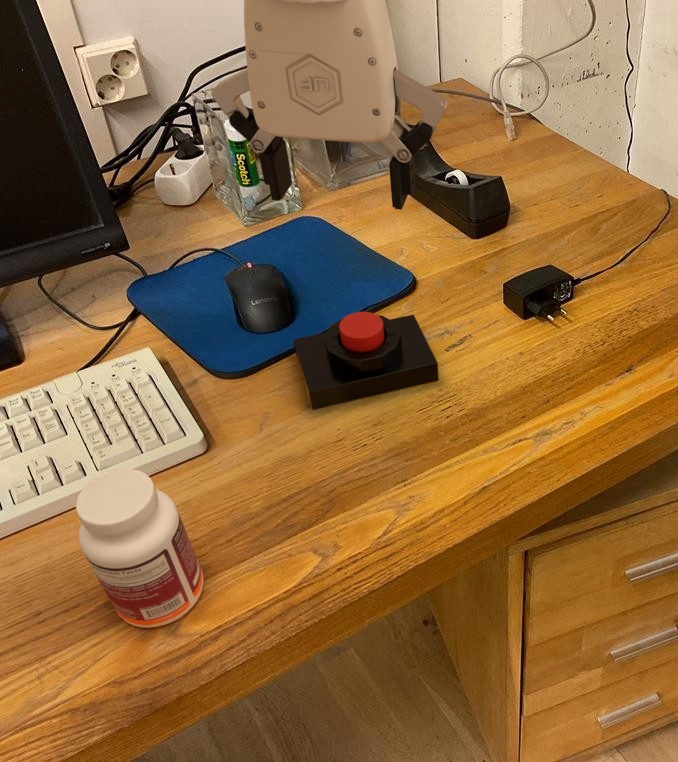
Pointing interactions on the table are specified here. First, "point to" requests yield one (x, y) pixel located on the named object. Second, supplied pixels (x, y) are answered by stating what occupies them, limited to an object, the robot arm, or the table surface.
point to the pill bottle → (138, 548)
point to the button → (361, 331)
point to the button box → (364, 363)
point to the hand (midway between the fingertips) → (341, 196)
